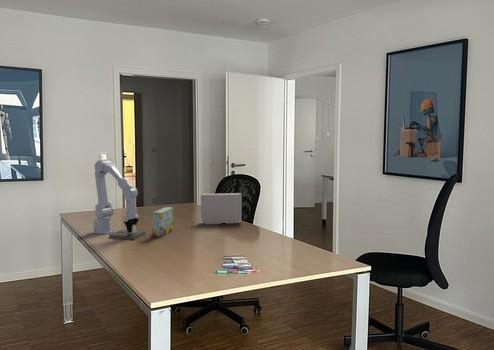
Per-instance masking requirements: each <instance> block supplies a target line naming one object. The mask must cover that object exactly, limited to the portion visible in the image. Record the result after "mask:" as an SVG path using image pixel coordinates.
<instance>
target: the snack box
mask: <svg viewBox="0 0 494 350" xmlns="http://www.w3.org/2000/svg"><path fill="white" fill-rule="evenodd" d="M151 214H152V215H151V216H152V217H151V218H152V222H151V224H152V225H151V238H154V239H155V238H156V239H157V238H159V239H160V238H162V237H164V236H165V235H167V234H169V233H171V232H173V230H174V224H173V223H174V207H170V206H165V207H162V208H160V209H157V210H155V211H153V212H152V213H151Z"/></svg>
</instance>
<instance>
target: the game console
mask: <svg viewBox="0 0 494 350" xmlns="http://www.w3.org/2000/svg"><path fill="white" fill-rule="evenodd" d="M242 200H243V196H242V193H241V192H236V193H235V192H234V193H233V192H231V193H200V220H201V221H202V222H203V224H205V225H217V224H218V225H220V224H221V223H226V224H241V223H242V221H243V220H242V209H243V207H242Z"/></svg>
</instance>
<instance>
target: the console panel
mask: <svg viewBox="0 0 494 350" xmlns="http://www.w3.org/2000/svg"><path fill="white" fill-rule="evenodd" d="M144 236H146V231H144V230H136V233H133V234H130V233H127V229H119V230H118V231H115V232H114V231H113V232H111V233H109V235H108V238H109V239H117V240H118V239H119V240H130V241H133V240H134V241H135V240H138V239H140V238H142V237H144Z"/></svg>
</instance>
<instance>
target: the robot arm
mask: <svg viewBox="0 0 494 350" xmlns="http://www.w3.org/2000/svg"><path fill="white" fill-rule="evenodd" d="M108 173H109V174H110V175H111V176H112V177H113V178H114V179H115V180H116V181H117V186H118V187H119V188H120V190H122V192H123V196H124V198H125V208H126V209H125V213H126V215H125V217H123V223H124V225H125V227H126V230H127V232H129V233H131V232H132V225H136V226H137V224H138V223H139V213H137V197H138V195H139V191H138V189H137V187H134V186H133V185H131V183H130V182H129V179H127V178H125V177H123V176H122V175H121V173H120V172H119V170H118V169H117V168H116V163H115V162H114V161H113V160H111V159H104V160H100V159H99V160H97V161H96V162H95V163H94V179H95V187H96V193H97V195H96V196H97V201H98V203H97V204H96V205H95V211H94V215H95V218H94V220H93V232H92V233H93V234H98V235H99V234H100V235H108V234H112V233H114V230H111V225H112V224H111V221H112V220H111V218H112V216H113V214H114V209H113V207H112V204H111V202H109V200H108V192H107V184H106V175H107V174H108Z"/></svg>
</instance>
